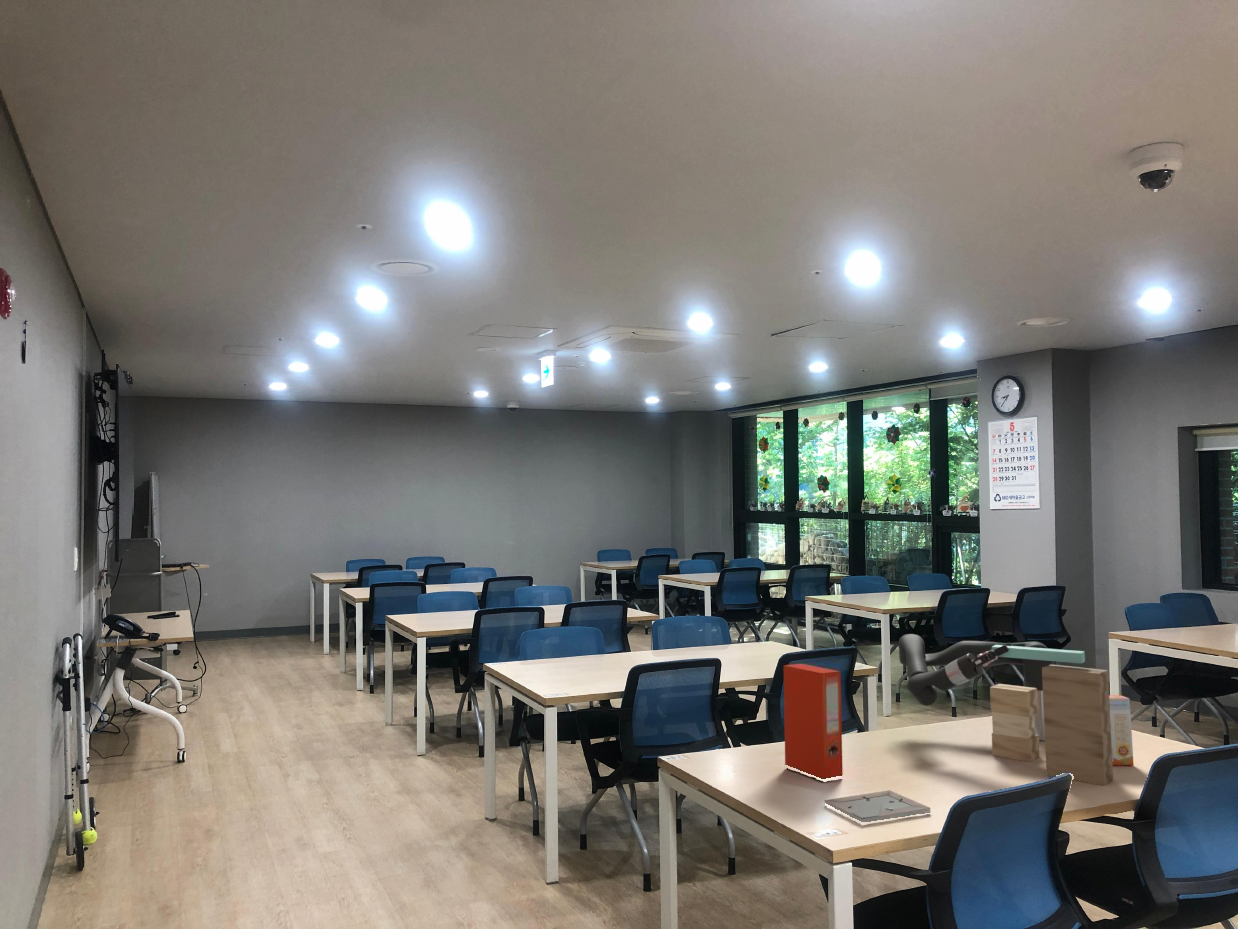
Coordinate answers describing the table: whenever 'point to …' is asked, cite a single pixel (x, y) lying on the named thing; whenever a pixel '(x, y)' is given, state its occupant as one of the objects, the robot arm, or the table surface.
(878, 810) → the picture frame
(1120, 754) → the cracker box
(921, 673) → the robot arm
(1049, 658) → the batten
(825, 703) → the file binder
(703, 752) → the table surface
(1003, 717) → the block
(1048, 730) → the wooden moulding block
